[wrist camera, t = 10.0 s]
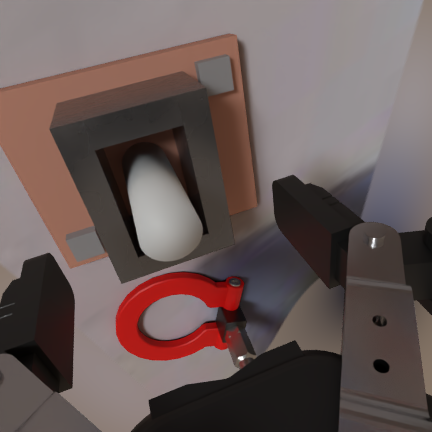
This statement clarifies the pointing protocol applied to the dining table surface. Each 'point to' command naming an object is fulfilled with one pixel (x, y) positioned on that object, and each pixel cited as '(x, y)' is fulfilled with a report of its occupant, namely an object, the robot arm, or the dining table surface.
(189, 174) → the grey hollow block
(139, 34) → the dining table surface
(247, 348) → the tow hook
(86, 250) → the keeper plate
